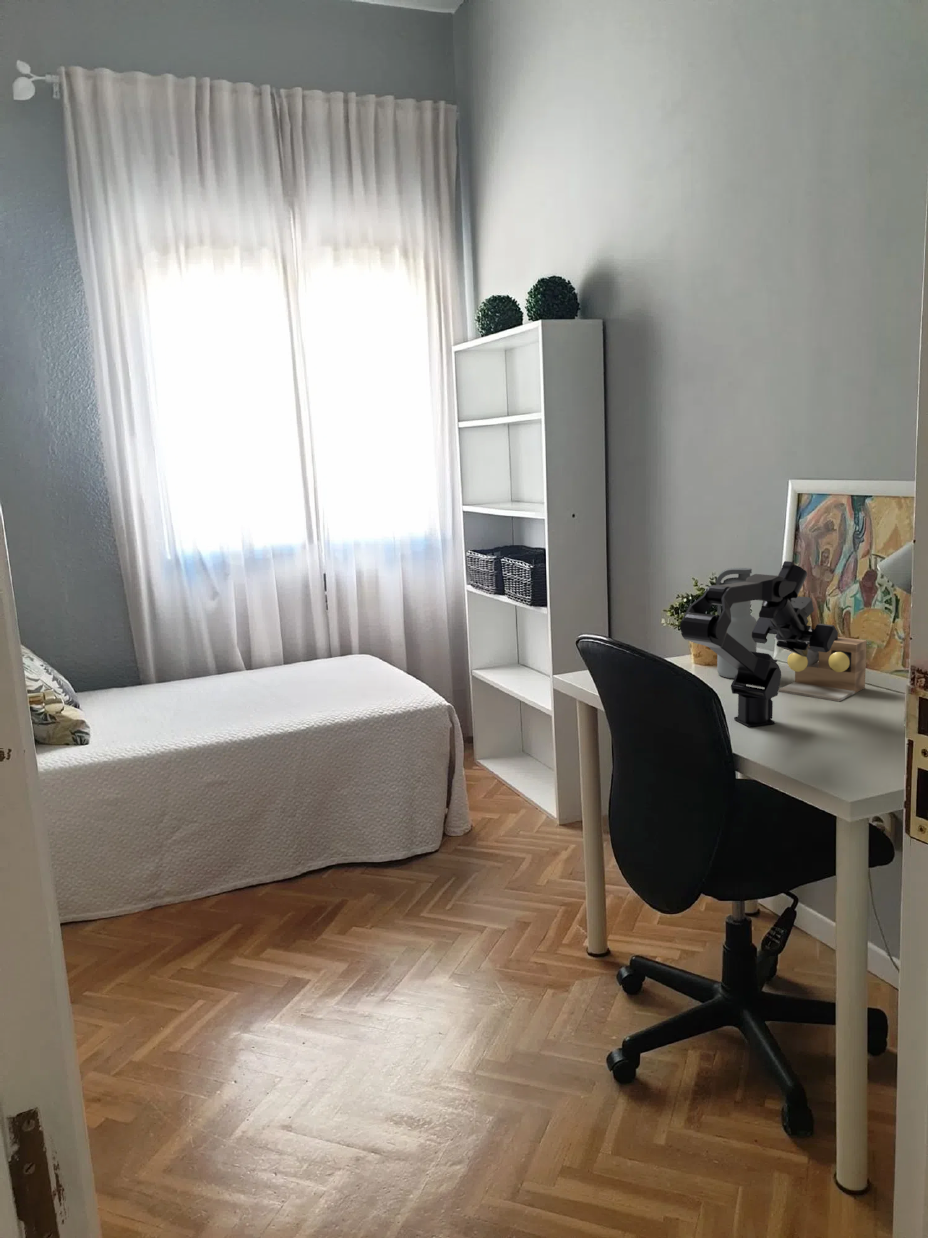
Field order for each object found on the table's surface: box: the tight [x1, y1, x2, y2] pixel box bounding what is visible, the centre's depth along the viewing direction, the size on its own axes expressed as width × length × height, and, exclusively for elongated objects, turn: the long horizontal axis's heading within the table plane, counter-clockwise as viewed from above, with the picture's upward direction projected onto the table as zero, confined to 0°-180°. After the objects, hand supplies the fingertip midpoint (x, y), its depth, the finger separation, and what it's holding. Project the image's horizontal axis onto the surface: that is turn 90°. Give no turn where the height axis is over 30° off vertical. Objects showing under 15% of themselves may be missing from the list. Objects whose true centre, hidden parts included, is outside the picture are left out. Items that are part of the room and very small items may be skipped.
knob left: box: [787, 648, 819, 672], centre depth 233 cm, size 8×5×5 cm, turn 135°
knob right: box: [829, 651, 851, 672], centre depth 231 cm, size 8×5×5 cm, turn 135°
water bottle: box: [715, 567, 757, 680], centre depth 248 cm, size 10×10×28 cm
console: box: [778, 632, 868, 702], centre depth 232 cm, size 14×15×14 cm
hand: (805, 654), depth 222 cm, fingers closed
